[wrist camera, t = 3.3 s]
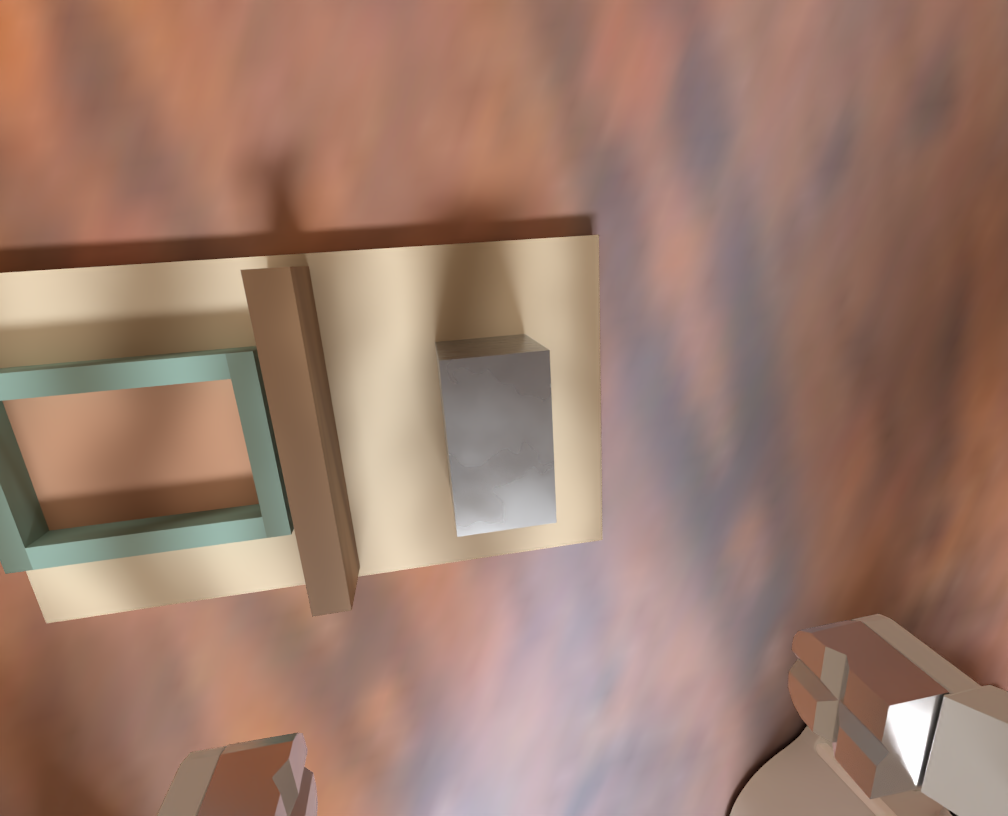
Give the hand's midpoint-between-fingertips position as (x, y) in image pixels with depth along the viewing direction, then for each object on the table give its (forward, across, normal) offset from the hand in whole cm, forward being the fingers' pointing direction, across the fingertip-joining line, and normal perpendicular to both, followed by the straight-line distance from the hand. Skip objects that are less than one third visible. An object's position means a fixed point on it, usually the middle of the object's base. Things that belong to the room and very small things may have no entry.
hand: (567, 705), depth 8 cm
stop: (+16, +1, 0) cm, 16 cm away
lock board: (+17, -7, 0) cm, 18 cm away
